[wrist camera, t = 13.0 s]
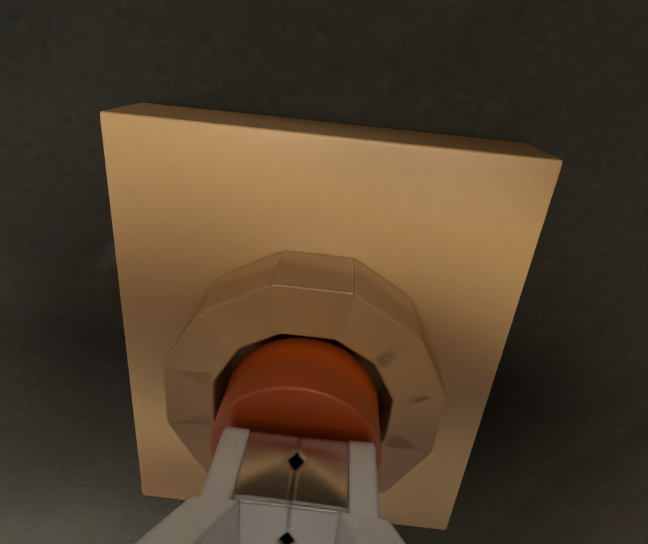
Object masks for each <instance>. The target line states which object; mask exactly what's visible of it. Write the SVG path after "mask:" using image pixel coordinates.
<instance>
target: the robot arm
mask: <svg viewBox="0 0 648 544" xmlns="http://www.w3.org/2000/svg"><path fill="white" fill-rule="evenodd" d="M134 544H406V543H405V542H404V541H403V539H402V538H401V536H400V535H399V533H398V532H397V531H396V529H395V528H394V526H393V525H392V524H391V522H390V521H389V519H388V518H384V517H380V513H379V497H378V480H377V464H376V447H375V445H374V443H369V442H360V441H350V440H349V442H348V440H341V439H332V438H322V437H312V436H303V435H300V436H299V435H292V434H285V433H277V432H270V431H263V430H256V429H245V428H238V427H231V426H226V428H225V429H224V431H223V432H222V435H221V438H220V441H219V443H218V446H217V449H216V452H215V455H214V458H213V461H212V464H211V466H210V469H209V472H208V475H207V478H206V481H205V484H204V486H203V489H202V492H201V495H200V496H196V495H192V496H191V497H190V498H188V499H187V500H186V501H185V502H184V503H182V504H181V505H180V506H179V507H178V508H176V509H175V510H174V511H173V512H172V513H170V514H169V515H168V516H167V517H166V518H164V519H163V520H162V521H161V522H160V523H158V524H157V525H156V526H155V527H154V528H152V529H151V530H150V531H149V532H148V533H146V534H145V535H144V536H143V537H141V538H140V539H139V540H138V541H137V542H135V543H134Z"/></svg>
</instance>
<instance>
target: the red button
mask: <svg viewBox="0 0 648 544" xmlns="http://www.w3.org/2000/svg"><path fill="white" fill-rule="evenodd" d="M226 426H231V427H238V428H245V429H256V430H263V431H270V432H277V433H285V434H292V435H299V436H300V435H303V436H312V437H322V438H332V439H341V440H348V442H349V440H350V441H360V442H369V443H374V445H375V447H376V464H377V474H378V472H379V468H380V465H381V458H382V451H381V437H380V424H379V410H378V396H377V391H376V387H375V384H374V382H373V379H372V377H371V376H370V374H369V372H368V371H367V370H366V369H365V367H364V366H363V365H362V364H361V363H360V362H359V361H358V360H357V359H356V358H355V357H354V356H352V355H351V354H349V353H348V352H347V351H345V350H343V349H341V348H339V347H337V346H335V345H333V344H330V343H327V342H324V341H320V340H315V339H309V338H288V339H282V340H277V341H273V342H270V343H267V344H265V345H263V346H261V347H259V348H257V349H255V350H254V351H252V352H251V353H250V354H248V355H247V356H246V357H245V358H244V359H243V360H242V361H241V362H240V363H239V364H238V366H237V367H236V369H235V370H234V372H233V374H232V377H231V379H230V382H229V384H228V387H227V390H226V392H225V395H224V397H223V400H222V403H221V405H220V408H219V411H218V413H217V416H216V419H215V421H214V424H213V426H212V430H211V434H210V442H209V445H210V454H211V458H212V461H213V458H214V455H215V452H216V449H217V446H218V443H219V441H220V438H221V435H222V432H223V431H224V429H225V428H226Z"/></svg>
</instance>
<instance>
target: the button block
mask: <svg viewBox="0 0 648 544" xmlns="http://www.w3.org/2000/svg"><path fill="white" fill-rule="evenodd" d="M100 119H101V128H102V137H103V145H104V154H105V163H106V172H107V181H108V190H109V199H110V208H111V217H112V226H113V234H114V243H115V252H116V261H117V270H118V279H119V288H120V297H121V306H122V314H123V323H124V332H125V341H126V350H127V359H128V368H129V377H130V386H131V394H132V403H133V412H134V421H135V430H136V439H137V448H138V457H139V466H140V475H141V483H142V492H143V495H148V496H156V497H165V498H174V499H182V500H187V499H188V498H190V497H191V496H192V495H196V496H200V495H201V492H202V489H203V486H204V484H205V481H206V478H207V475H208V472H209V469H210V466H211V464H212V458H211V454H210V445H209V442H210V434H211V430H212V426H213V424H214V421H215V419H216V416H217V413H218V411H219V408H220V405H221V403H222V400H223V397H224V395H225V392H226V390H227V387H228V384H229V382H230V379H231V377H232V374H233V372H234V370H235V369H236V367H237V366H238V364H239V363H240V362H241V361H242V360H243V359H244V358H245V357H246V356H247V355H248V354H250V353H251V352H252V351H254V350H255V349H257V348H259V347H261V346H263V345H265V344H267V343H270V342H273V341H277V340H282V339H288V338H309V339H315V340H320V341H324V342H327V343H330V344H333V345H335V346H337V347H339V348H341V349H343V350H345V351H347V352H348V353H349V354H351V355H352V356H354V357H355V358H356V359H357V360H358V361H359V362H360V363H361V364H362V365H363V366H364V367H365V369H366V370H367V371H368V372H369V374H370V376H371V377H372V379H373V382H374V384H375V387H376V391H377V396H378V410H379V424H380V437H381V451H382V458H381V465H380V468H379V472H378V474H377V480H378V497H379V513H380V517H384V518H388V519H389V521H390V522H391V524H398V525H407V526H415V527H424V528H432V529H441V530H446V528H447V525H448V522H449V519H450V516H451V513H452V509H453V506H454V503H455V500H456V497H457V494H458V491H459V487H460V484H461V481H462V478H463V475H464V472H465V468H466V465H467V462H468V459H469V456H470V453H471V450H472V446H473V443H474V440H475V437H476V434H477V431H478V428H479V424H480V421H481V418H482V415H483V412H484V409H485V406H486V402H487V399H488V396H489V393H490V390H491V387H492V383H493V380H494V377H495V374H496V371H497V368H498V365H499V361H500V358H501V355H502V352H503V349H504V346H505V343H506V339H507V336H508V333H509V330H510V327H511V324H512V321H513V317H514V314H515V311H516V308H517V305H518V302H519V298H520V295H521V292H522V289H523V286H524V283H525V280H526V276H527V273H528V270H529V267H530V264H531V261H532V258H533V254H534V251H535V248H536V245H537V242H538V239H539V236H540V232H541V229H542V226H543V223H544V220H545V217H546V213H547V210H548V207H549V204H550V201H551V198H552V195H553V191H554V188H555V185H556V182H557V179H558V176H559V173H560V169H561V166H562V160H561V159H558V158H556V157H554V156H552V155H550V154H548V153H546V152H544V151H542V150H540V149H538V148H536V147H534V146H532V145H530V144H528V143H522V142H513V141H503V140H494V139H484V138H475V137H466V136H456V135H447V134H437V133H428V132H418V131H409V130H399V129H390V128H380V127H371V126H361V125H352V124H342V123H333V122H323V121H314V120H305V119H295V118H286V117H276V116H267V115H257V114H248V113H238V112H229V111H219V110H210V109H200V108H191V107H181V106H172V105H162V104H153V103H143V102H142V103H138V104H133V105H128V106H124V107H119V108H114V109H110V110H105V111H101V112H100Z"/></svg>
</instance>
